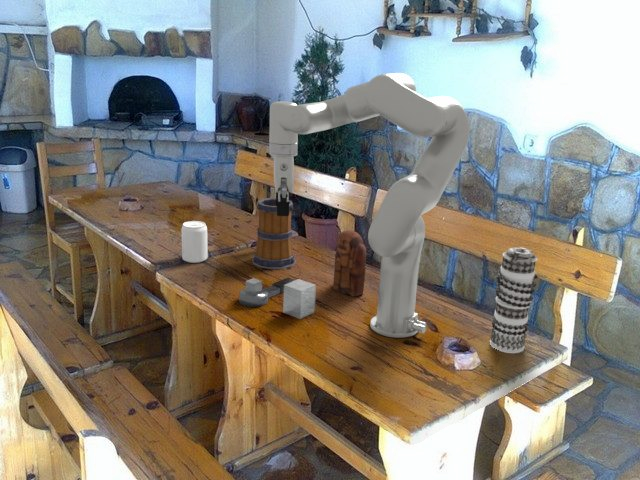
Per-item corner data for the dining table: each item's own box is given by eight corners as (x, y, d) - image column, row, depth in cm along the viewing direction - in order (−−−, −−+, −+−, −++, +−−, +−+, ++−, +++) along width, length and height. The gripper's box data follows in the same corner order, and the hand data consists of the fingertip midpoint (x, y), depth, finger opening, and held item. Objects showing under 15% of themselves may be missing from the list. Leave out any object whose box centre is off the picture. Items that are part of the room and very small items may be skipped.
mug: (241, 252, 220) (241, 194, 214) (280, 247, 226) (282, 191, 220) (260, 271, 203) (261, 209, 197) (303, 266, 209) (305, 206, 203)
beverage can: (179, 256, 213) (178, 221, 209) (203, 254, 216) (203, 219, 212) (185, 265, 206) (184, 228, 202) (210, 262, 209) (210, 226, 205)
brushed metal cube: (314, 312, 176) (315, 284, 173) (300, 319, 171) (301, 291, 169) (297, 306, 179) (298, 278, 177) (283, 312, 175) (283, 284, 172)
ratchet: (303, 288, 192) (304, 269, 190) (253, 309, 176) (254, 288, 174) (283, 281, 196) (283, 262, 194) (233, 301, 180) (233, 281, 179)
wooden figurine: (325, 286, 194) (328, 228, 188) (341, 281, 198) (344, 225, 192) (353, 299, 186) (357, 239, 180) (369, 293, 190) (373, 235, 184)
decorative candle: (497, 333, 168) (510, 241, 160) (531, 345, 163) (546, 250, 155) (481, 345, 161) (494, 250, 154) (516, 357, 156) (531, 259, 148)
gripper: (299, 155, 166) (297, 220, 171) (295, 143, 182) (294, 203, 187) (270, 154, 165) (269, 219, 170) (268, 143, 181) (267, 202, 186)
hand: (282, 211), depth 179 cm, fingers open, 9 cm apart
